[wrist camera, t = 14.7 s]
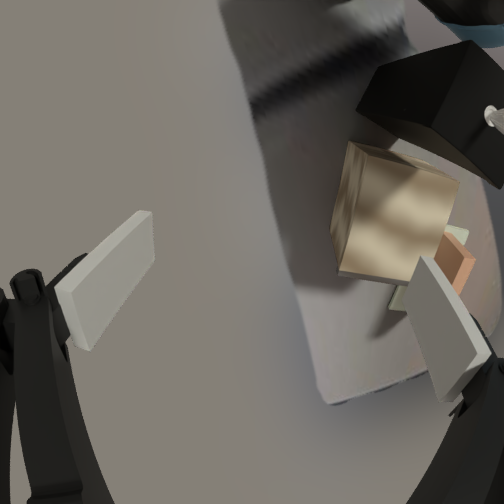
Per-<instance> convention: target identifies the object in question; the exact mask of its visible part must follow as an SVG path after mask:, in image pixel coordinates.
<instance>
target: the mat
mask: <svg viewBox="0 0 504 504" xmlns="http://www.w3.org/2000/svg"><path fill="white" fill-rule="evenodd" d="M444 231H446V232H449V233H452V234H453V235H454V236H455V237H456V238H457V240H458V241H459V242H460V243H461V244H462V245H463V246H464V244H465V242H466V239H467V237H468V234H469V231H468V230H466V229H463V228H459V227H456V226H452V225H448V224H447V225H446V227H445V230H444ZM406 289H407V286H401V285H397V288H396V290H395V292H394V295H393V297H392V299H391V302H390V304H389V306H388V308H389V309H390V310H398V311H406V310H405V307H404V305H403V302H402V298H403V296H404V294H405V291H406Z"/></svg>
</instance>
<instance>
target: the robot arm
mask: <svg viewBox="0 0 504 504" xmlns="http://www.w3.org/2000/svg"><path fill="white" fill-rule="evenodd" d="M418 1H419V2H421V3H422V4H423V5H424V6H425V7H427V9H428V10H430V11H431V12H432V13H433V14H434V15H435V18H436V19H437V20H438V21H439V22H440V23H442V24H444V25H446V26H447V27H448V28H449V29H450V30H451V31H452V32H453V33H454V34H455V35H456V36H457V37H458V38H459V39H460V40H462V41H466V40H473V41H474V42H475V43H476V44H477V45H478V46H480V47H481V48H495V47H501V46H504V0H418ZM154 261H155V256H154V238H153V212H149V211H142V210H138V211H137V212H136V213H134V214H133V215H132V216H131V217H130V218H129V219H127V220H126V221H125V222H124V223H123V224H122V225H120V226H119V227H118V228H117V229H116V230H115V231H113V232H112V233H111V234H110V235H109V236H108V237H107V238H105V239H104V240H103V241H102V242H101V243H100V244H99V245H98V246H97V247H96V248H94V249H93V250H92V251H91V252H90V253H89V254H87V253H85V254H83V255H81V256H79V257H77V258H75V259H74V260H73V261H72V262H71V263H70V264H69V265H68V267H67V266H66V267H65V268H64V269H63V270H62V272H60V273H59V274H58V275H57V276H56V277H55V278H54V279H53V280H52V281H51V282H50V283H49V284H48V285H47V286H46V287H45V284H44V280H43V277H42V273H41V272H40V271H39V270H37V269H26V270H23V271H21V272H19V273H17V274H16V275H15V276H14V277H13V278H12V279H11V281H10V286H11V289H12V292H13V295H14V297H15V299H6V296H5V294H4V291H3V289H1V288H0V504H11V503H10V448H11V435H12V424H13V415H14V407H15V401H16V409H17V417H18V426H19V433H20V440H21V446H22V452H23V457H24V462H25V466H26V471H27V475H28V479H29V483H30V487H31V492H32V493H31V497H30V498H29V499H28V500H27V504H115V503H114V501H113V499H112V497H111V495H110V493H109V490H108V488H107V485H106V483H105V480H104V478H103V476H102V473H101V470H100V468H99V465H98V462H97V460H96V457H95V454H94V451H93V449H92V445H91V442H90V439H89V436H88V433H87V430H86V426H85V423H84V419H83V416H82V412H81V408H80V404H79V400H78V396H77V392H76V388H75V383H74V379H73V375H72V369H71V364H70V358H69V353H68V347H67V345H66V343H65V342H66V340H67V339H68V337H69V336H71V338H72V341H73V344H74V346H75V347H79V348H81V349H83V350H86V351H89V352H90V351H91V350H92V349H93V347H94V346H95V344H96V343H97V341H98V340H99V338H100V336H101V335H102V334H103V332H104V331H105V329H106V328H107V326H108V325H109V324H110V322H111V320H112V319H113V318H114V316H115V315H116V314H117V312H118V311H119V309H120V308H121V306H122V305H123V304H124V302H125V301H126V299H127V298H128V297H129V295H130V294H131V292H132V291H133V290H134V288H135V287H136V286H137V284H138V283H139V282H140V280H141V279H142V277H143V276H144V275H145V273H146V272H147V271H148V269H149V268H150V267H151V265H152V264H153V263H154ZM402 302H403V305H404V307H405V310H406V312H407V314H408V317H409V319H410V322H411V324H412V327H413V329H414V332H415V335H416V337H417V340H418V343H419V345H420V348H421V351H422V353H423V356H424V359H425V362H426V365H427V368H428V371H429V374H430V377H431V380H432V383H433V386H434V389H435V392H436V395H437V399H438V402H439V403H442V402H453V401H454V400H455V399H456V398H457V396H458V395H459V394H460V393H461V392H462V395H463V397H464V399H463V400H462V401H461V402H460V403H459V404H458V405H457V406H456V407H455V409H454V410H453V411H452V412H451V413H450V414H449V416H452V414H453V413H455V415H454V417H453V419H452V422H451V424H450V426H449V428H448V431H447V433H446V435H445V437H444V439H443V441H442V443H441V445H440V447H439V449H438V451H437V453H436V455H435V456H434V458H433V460H432V462H431V464H430V466H429V467H428V469H427V471H426V473H425V474H424V476H423V478H422V480H421V481H420V483H419V484H418V486H417V488H416V489H415V491H414V492H413V494H412V495H411V497H410V498H409V500H408V501H407V503H406V504H504V358H497V356H496V354H495V352H494V350H493V348H492V346H491V344H490V343H489V341H488V339H487V337H485V334H484V332H483V330H481V329H482V328H481V327H480V325H479V323H478V321H477V320H476V319H475V318H474V317H473V316H472V315H471V314H470V313H469V312H468V311H467V309H466V307H465V306H464V304H463V302H462V301H461V299H460V298H459V296H458V295H457V293H456V291H455V290H454V288H453V287H452V285H451V284H450V282H449V281H448V279H447V278H446V276H445V275H444V273H443V272H442V270H441V269H440V268H439V266H438V265H437V263H436V262H435V260H434V259H433V258H432V257H427V256H421V255H420V257H419V260H418V263H417V265H416V268H415V270H414V272H413V275H412V277H411V280H410V282H409V284H408V287H407V289H406V291H405V294H404V296H403V298H402Z"/></svg>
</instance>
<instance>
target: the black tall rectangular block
mask: <svg viewBox="0 0 504 504" xmlns="http://www.w3.org/2000/svg"><path fill="white" fill-rule="evenodd" d="M356 111H357V112H358V113H360V114H362V115H363V116H365V117H367V118H368V119H370V120H372V121H373V122H375V123H377V124H378V125H380V126H381V127H383V128H385V129H386V130H388V131H389V132H391V133H392V134H394V135H395V136H397V137H398V138H400V139H402V140H405V141H407V142H409V143H412V144H414V145H416V146H419V147H421V148H423V149H425V150H428V151H430V152H432V153H434V154H436V155H438V156H440V157H443V158H445V159H447V160H449V161H451V162H453V163H455V164H457V165H459V166H461V167H462V168H464V169H466V170H468V171H470V172H472V173H474V174H476V175H477V176H479V177H481V178H483V179H485V180H486V181H487V182H488V183H489V184H491V185H493V186H494V187H496V188H498V189H501V188H502V186H503V184H504V70H503V69H502V68H501V67H500V66H499V65H498V64H497V63H496V62H495V61H494V60H493V59H492V58H491V57H490V56H489V55H488V54H487V53H486V52H485V51H484V50H483V49H482V48H481V47H480V46H478V45H477V44H476V43H475V42H474V41H473V40H466V41H462V42H460V43H457V44H453V45H449V46H445V47H441V48H437V49H433V50H430V51H426V52H423V53H419V54H416V55H413V56H410V57H406V58H403V59H400V60H397V61H394V62H391V63H388V64H385V65H382V66H379V67H378V68H377V70H376V72H375V74H374V76H373V78H372V80H371V82H370V84H369V86H368V88H367V89H366V91H365V93H364V95H363V97H362V99H361V101H360V103H359V105H358V107H357V108H356Z"/></svg>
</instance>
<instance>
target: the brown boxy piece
mask: <svg viewBox="0 0 504 504" xmlns="http://www.w3.org/2000/svg"><path fill="white" fill-rule="evenodd" d="M459 184H460V182H459V181H457V180H456V179H454V178H452V177H451V176H449V175H447V174H446V173H444V172H442V171H441V170H439V169H437V168H435V167H434V166H432V165H430V164H428V163H427V162H425V161H423V160H420V159H417V158H414V157H411V156H407V155H404V154H400V153H397V152H393V151H389V150H386V149H382V148H378V147H374V146H370V145H366V144H362V143H358V142H353V141H349V140H348V145H347V150H346V155H345V160H344V165H343V170H342V175H341V180H340V184H339V189H338V194H337V198H336V203H335V207H334V211H333V215H332V220H331V224H330V228H329V230H330V234H331V238H332V242H333V246H334V250H335V254H336V259H337V263H338V267H337V270H336V271H337V276H343V277H349V278H355V279H362V280H368V281H375V282H381V283H388V284H394V285H401V286H407V287H408V284H409V282H410V280H411V277H412V275H413V272H414V270H415V268H416V265H417V263H418V260H419V257H420V255H421V256H427V257H432V258H433V259H434V257H435V254H436V252H437V249H438V246H439V244H440V241H441V238H442V236H443V233H444V230H445V227H446V225H447V222H448V219H449V216H450V213H451V210H452V207H453V204H454V200H455V197H456V194H457V190H458V187H459Z"/></svg>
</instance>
